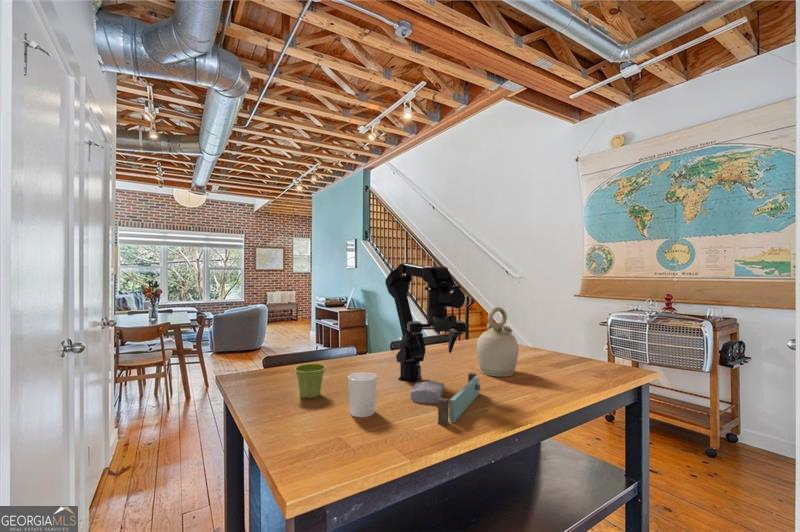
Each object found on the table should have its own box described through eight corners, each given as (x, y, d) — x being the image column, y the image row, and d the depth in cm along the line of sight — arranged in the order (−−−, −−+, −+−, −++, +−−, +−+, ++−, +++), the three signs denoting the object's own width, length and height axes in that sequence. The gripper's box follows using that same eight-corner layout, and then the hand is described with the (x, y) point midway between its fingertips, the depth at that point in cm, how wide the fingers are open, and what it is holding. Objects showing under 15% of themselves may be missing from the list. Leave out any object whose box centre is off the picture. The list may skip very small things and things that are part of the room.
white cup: (365, 421, 94) (365, 382, 94) (341, 414, 98) (341, 377, 98) (382, 411, 100) (382, 374, 100) (360, 405, 105) (360, 370, 105)
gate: (449, 421, 93) (449, 399, 93) (475, 393, 114) (475, 376, 114) (458, 423, 92) (458, 401, 92) (482, 395, 113) (482, 377, 113)
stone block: (409, 409, 107) (443, 404, 105) (406, 392, 108) (439, 388, 106) (416, 396, 119) (446, 392, 117) (413, 382, 119) (443, 377, 117)
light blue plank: (438, 423, 92) (438, 400, 92) (470, 391, 117) (470, 372, 117) (445, 425, 91) (445, 401, 91) (476, 392, 116) (476, 373, 116)
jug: (524, 378, 131) (524, 309, 131) (481, 378, 131) (481, 309, 131) (511, 367, 146) (511, 305, 146) (473, 367, 146) (473, 305, 147)
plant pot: (331, 395, 113) (331, 367, 113) (305, 403, 106) (305, 373, 106) (314, 388, 119) (314, 362, 120) (288, 395, 113) (288, 367, 113)
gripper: (413, 308, 108) (413, 360, 108) (473, 307, 111) (472, 358, 111) (406, 304, 119) (406, 351, 119) (461, 303, 122) (460, 350, 122)
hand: (436, 353), depth 117 cm, fingers open, 9 cm apart
